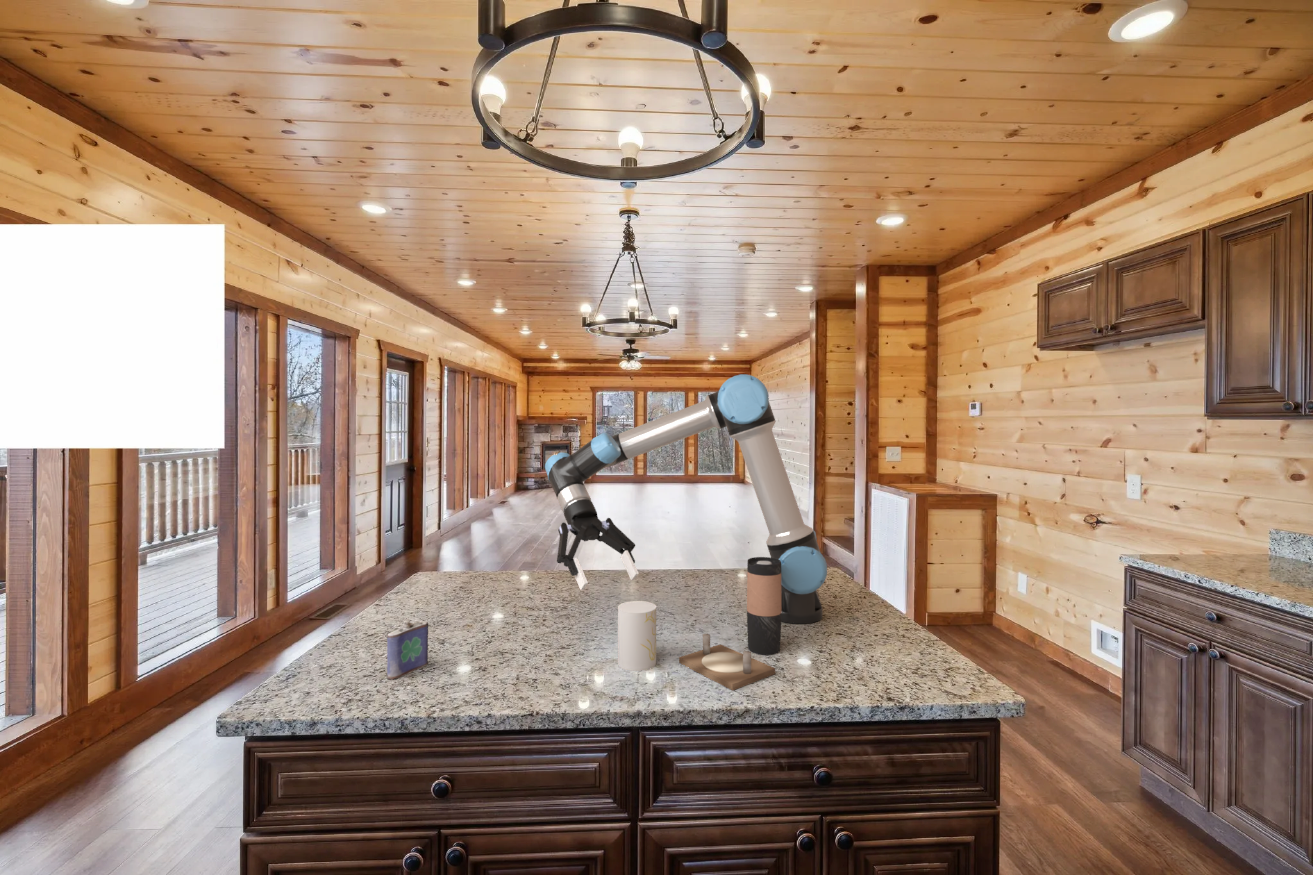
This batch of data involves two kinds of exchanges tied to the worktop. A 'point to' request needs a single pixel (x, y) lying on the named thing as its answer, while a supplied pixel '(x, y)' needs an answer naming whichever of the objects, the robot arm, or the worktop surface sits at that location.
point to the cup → (636, 635)
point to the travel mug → (764, 605)
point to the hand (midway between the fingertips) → (610, 581)
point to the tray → (726, 665)
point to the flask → (407, 649)
